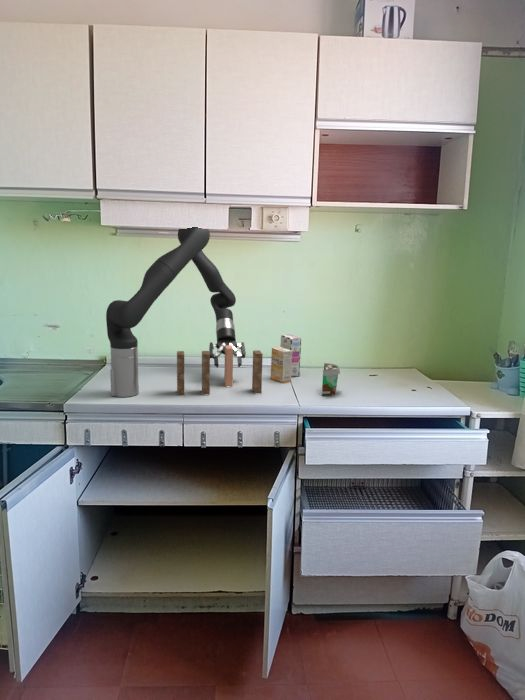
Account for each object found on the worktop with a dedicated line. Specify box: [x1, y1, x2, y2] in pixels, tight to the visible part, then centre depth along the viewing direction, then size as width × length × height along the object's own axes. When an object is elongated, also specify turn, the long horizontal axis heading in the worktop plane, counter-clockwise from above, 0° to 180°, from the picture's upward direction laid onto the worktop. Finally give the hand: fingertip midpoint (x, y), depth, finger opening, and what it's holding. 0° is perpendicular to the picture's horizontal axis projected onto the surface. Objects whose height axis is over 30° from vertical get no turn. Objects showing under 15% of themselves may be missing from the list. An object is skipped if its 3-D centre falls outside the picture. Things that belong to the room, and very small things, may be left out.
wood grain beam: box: [251, 349, 264, 394], centre depth 182 cm, size 2×6×15 cm, turn 10°
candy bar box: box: [279, 334, 302, 378], centre depth 210 cm, size 11×5×16 cm, turn 21°
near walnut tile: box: [176, 350, 185, 396], centre depth 177 cm, size 2×6×15 cm, turn 10°
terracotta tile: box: [223, 346, 234, 387], centre depth 190 cm, size 2×6×15 cm, turn 10°
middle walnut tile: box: [201, 350, 211, 395], centre depth 179 cm, size 2×6×15 cm, turn 11°
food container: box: [321, 362, 341, 397], centre depth 184 cm, size 12×6×10 cm, turn 171°
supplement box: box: [270, 346, 293, 384], centre depth 199 cm, size 8×5×13 cm, turn 36°
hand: (228, 366), depth 190 cm, fingers open, 8 cm apart
